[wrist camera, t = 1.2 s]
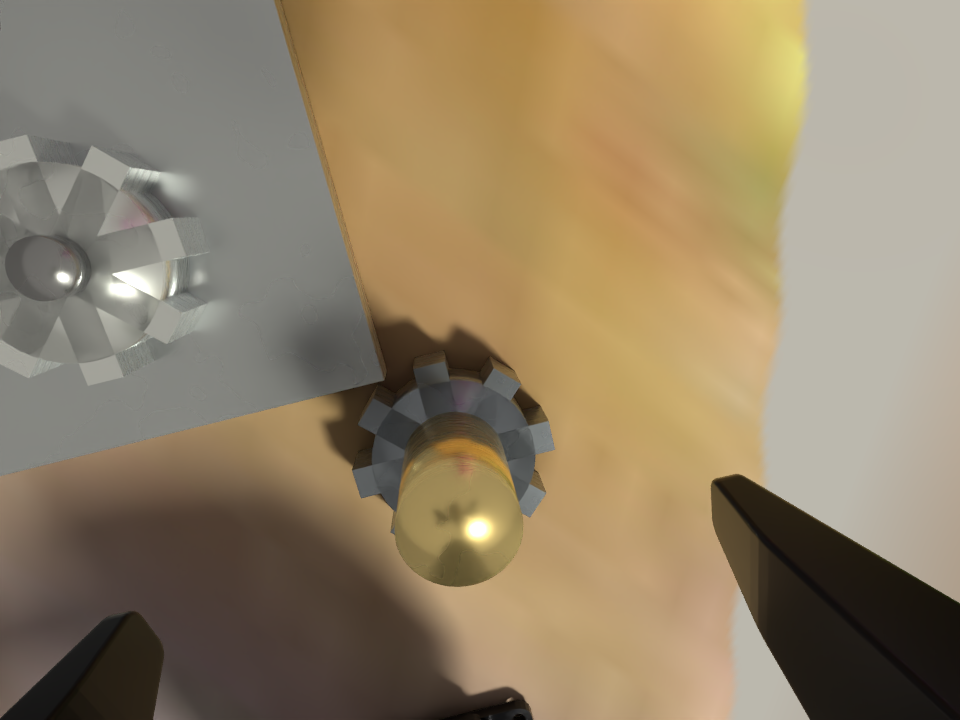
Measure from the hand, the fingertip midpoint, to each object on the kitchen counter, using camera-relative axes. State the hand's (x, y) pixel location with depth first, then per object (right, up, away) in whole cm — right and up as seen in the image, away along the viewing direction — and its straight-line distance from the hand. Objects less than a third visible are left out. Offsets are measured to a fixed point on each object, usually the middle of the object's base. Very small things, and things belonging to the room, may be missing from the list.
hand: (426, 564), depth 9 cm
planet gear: (0, 0, +12) cm, 12 cm away
